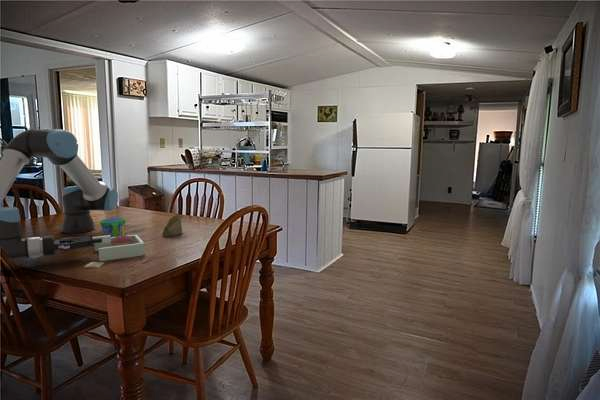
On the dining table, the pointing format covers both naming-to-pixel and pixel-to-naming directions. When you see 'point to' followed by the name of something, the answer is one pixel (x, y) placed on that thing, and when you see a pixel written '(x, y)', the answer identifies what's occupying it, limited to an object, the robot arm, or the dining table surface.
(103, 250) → the tray
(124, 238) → the cupcake
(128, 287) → the dining table surface
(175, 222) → the rock
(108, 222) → the snack cup
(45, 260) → the dining table surface
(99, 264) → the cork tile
